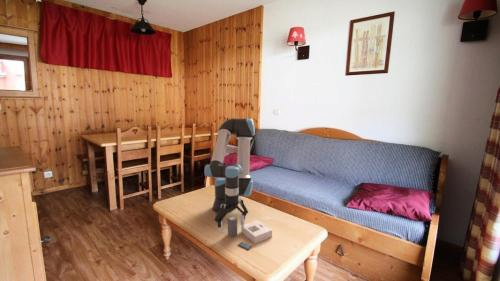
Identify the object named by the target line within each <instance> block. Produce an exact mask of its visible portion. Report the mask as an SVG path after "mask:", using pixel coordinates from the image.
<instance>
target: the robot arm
mask: <svg viewBox="0 0 500 281" xmlns="http://www.w3.org/2000/svg"><path fill="white" fill-rule="evenodd" d="M255 135H256V128H255V121H254V120H253V119H252V118H229V119H226V120H224V121H223V123H221V125H219V128H218V130H217V140H216V142H215V146H214V150H213V153H212V157H211V160H210V163H209V164H205V166H204V176H205V177H208V178H212V179H213V178H215V180H214V201H213V205H212V210H213V211H214V212H215V213H216V215H215V217H214V221H215V222H216V223H217V228H218V232H219V233H220V234H223V230H224V228H223V221H224V218H225V217H226V215H227V214H228V213H230V212H232V211H234V210H236V209H237V210H238V211H239V212H240V226H241V225H242V226H244V224H245V220H246V216H247V214H249V210H248V208H247V207H246V205H245V203H244V200H243V199H242V198H239V197H244V198H245V197H250V196H251V195H252V191H253V187H254V180H253V179H252V176H251V175H250V161H251V160H250V157H251V155H250V154H251V140H252V139H253V136H255ZM232 136H235V138H236V140H237V157H236V158H237V160H236V163H234V164H232V165H229V164H228V165H227V164H225V165H224V160H225V156H226V152H227V148H228V143H229V140H230V139H231V138H232ZM239 204H240V206H241V208H242V209H241V208H240V206H239Z"/></svg>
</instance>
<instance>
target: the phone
mask: <svg viewBox="0 0 500 281" xmlns="http://www.w3.org/2000/svg"><path fill="white" fill-rule="evenodd" d="M237 246H238V247H239V248H242V249H243V250H244V249H245V250H246V251H249V250H251V249H252V248H253V246H252V245H250V244H248V243H246V242H244V241H241V242H240V243H238V244H237Z"/></svg>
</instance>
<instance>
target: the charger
mask: <svg viewBox="0 0 500 281" xmlns="http://www.w3.org/2000/svg"><path fill="white" fill-rule="evenodd" d="M227 235H228V237H230V238H231V239H232V238H234V237H236V236H238V219H237V218H236V217H235V216H232V217H228V218H227Z"/></svg>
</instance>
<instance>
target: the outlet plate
mask: <svg viewBox="0 0 500 281" xmlns="http://www.w3.org/2000/svg"><path fill="white" fill-rule="evenodd" d="M240 231H241V233H242V234H243V235H245V236H246V237H247V239H249V240H250V241H252V243H254V244H257V243H260V242H262V241H264V240H267V239H269V238H271V237H273V229H271V228H270V227H268V226H267V225H266V224H265V223H263V222H261V221H260V220H259V219H255V220H253V221H250V222H247V223H244V226H242V225H241V224H240Z"/></svg>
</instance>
